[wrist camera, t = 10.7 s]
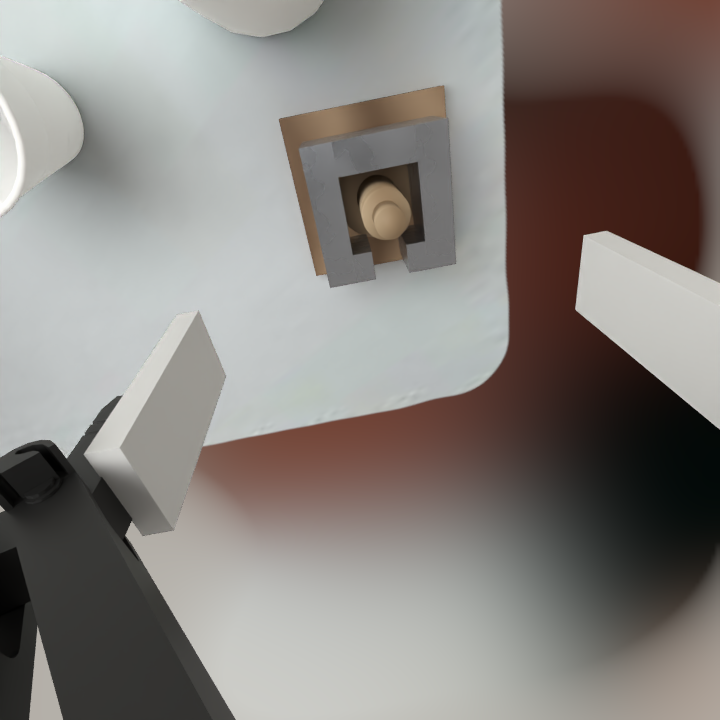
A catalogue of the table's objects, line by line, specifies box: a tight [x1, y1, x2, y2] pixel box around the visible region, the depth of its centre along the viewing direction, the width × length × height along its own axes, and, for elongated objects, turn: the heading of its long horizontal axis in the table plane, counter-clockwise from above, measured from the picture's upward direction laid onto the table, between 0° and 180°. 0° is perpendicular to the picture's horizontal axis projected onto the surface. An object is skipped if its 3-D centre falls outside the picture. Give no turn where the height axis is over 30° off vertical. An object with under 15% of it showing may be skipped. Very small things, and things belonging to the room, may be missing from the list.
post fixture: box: [279, 86, 446, 276], centre depth 29 cm, size 12×12×12 cm
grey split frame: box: [299, 116, 456, 288], centre depth 29 cm, size 9×9×4 cm
